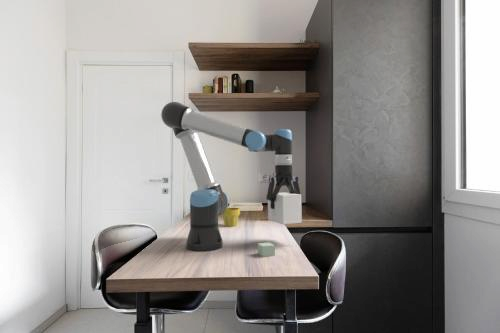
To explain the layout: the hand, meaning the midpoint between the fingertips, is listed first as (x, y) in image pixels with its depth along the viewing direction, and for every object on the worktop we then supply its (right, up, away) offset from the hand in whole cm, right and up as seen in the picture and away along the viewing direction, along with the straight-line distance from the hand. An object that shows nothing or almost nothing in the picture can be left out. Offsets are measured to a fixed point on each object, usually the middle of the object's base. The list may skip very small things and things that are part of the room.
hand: (284, 215), depth 144 cm
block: (-9, -12, -20) cm, 25 cm away
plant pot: (-26, -12, +40) cm, 49 cm away
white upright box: (0, -3, 0) cm, 3 cm away
